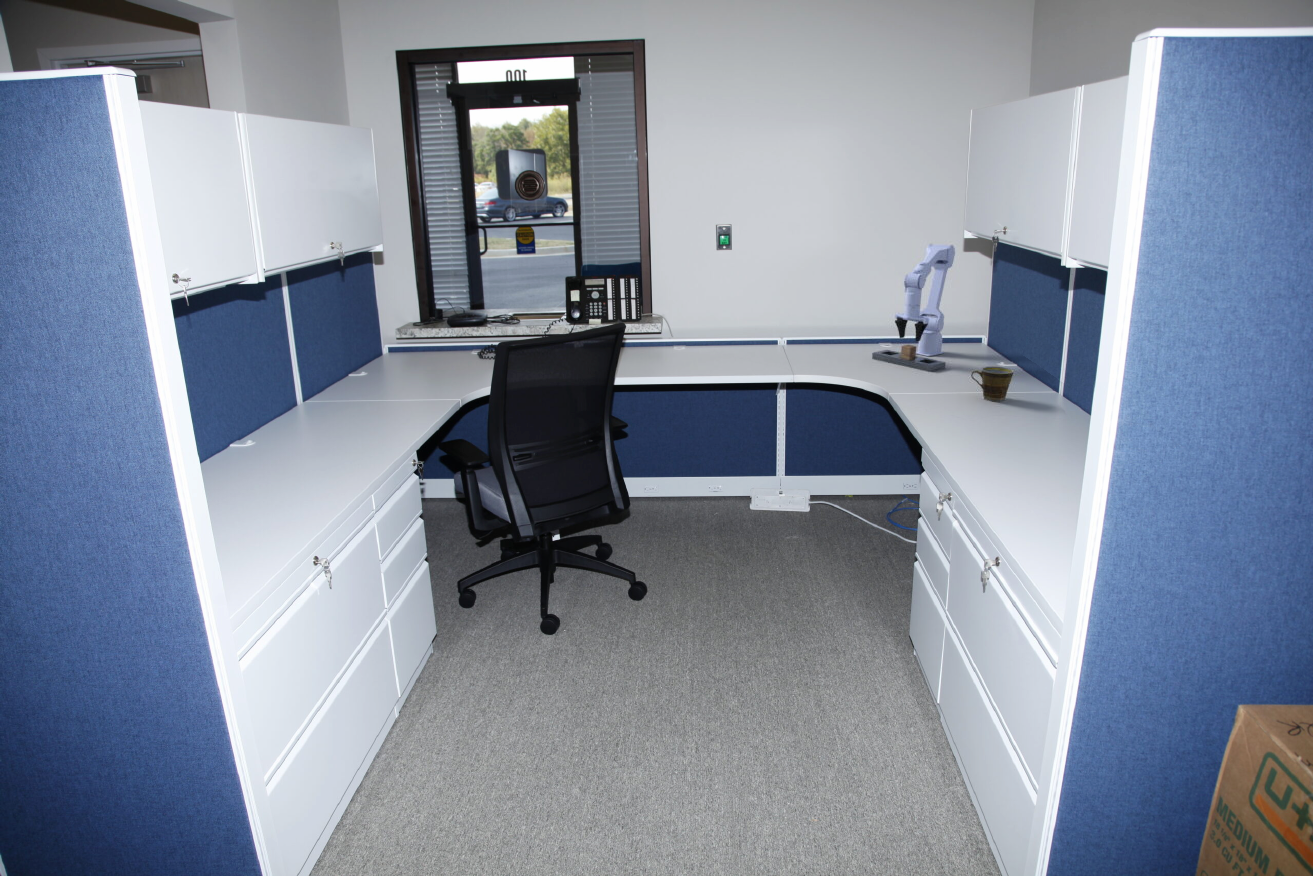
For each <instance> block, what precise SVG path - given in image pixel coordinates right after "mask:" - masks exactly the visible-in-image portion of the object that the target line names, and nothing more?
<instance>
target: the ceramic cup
mask: <svg viewBox="0 0 1313 876" xmlns="http://www.w3.org/2000/svg"><path fill="white" fill-rule="evenodd" d="M980 371H981V372H980ZM980 371H979V370H974V371H972V372H971V379H972V380H973V381H975V382H976V383H977V384H978V385H979V387H981V389H982V397H984V398H983V400H985V399H987V400H986V401H988V400H992V401H991V402H997V401H1000V402H1002V401H1001V400H1004V401H1005V400H1006V396H1007V393H1008V389H1009V387H1010V385H1011V381H1012V379H1013V376H1014V370H1013V369H1011V368H1007V367H1003V366H984V367H982V368H981V369H980ZM975 373H977V374H978V375H979V376H980V378H981V382H982V383H980V382H979V381H978V380H977V379H975V378H974V376H973V375H974V374H975Z"/></svg>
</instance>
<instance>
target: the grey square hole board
mask: <svg viewBox="0 0 1313 876" xmlns="http://www.w3.org/2000/svg"><path fill="white" fill-rule="evenodd" d="M871 359H872V360H877V361H880V362H884V363H890V364H893V365H898V366H903V367H907V368H911V369H917V370H920V371H923V372H928V373H929V372H930V373H931V372H935V371H940V370H945V369H946V363H947V362H946V361H942V360H937V359H933V358H929V357H924V356H918V355H916V358H914V359H905V358H901V351H895V350H890V349H883V350H879V351H874V352H872V358H871Z"/></svg>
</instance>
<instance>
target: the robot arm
mask: <svg viewBox="0 0 1313 876" xmlns="http://www.w3.org/2000/svg"><path fill="white" fill-rule="evenodd" d="M955 248H956V247H954V245H953V244H935V243H930V244H929V245H928V246H927V247H926V252H925V255H926V256H925V258H924V259H923V261H921V262H919V263H917V265H916V266H915V268H914V269H913V270H912V272H909V273H907V274H906V275H905V278H904V282H903V285H904V293H905V299H904V301H905V303H904V313H900V312H897V313H895V314H894V319H896V320H894V323H895V325H896V327H897V331H898V336H899V339H905V335H906V328H907V325H908V321H910V322H914V328H915V336H914V337H915V342H918V346H917V350H916V355H921V356H926V357H932V356H937V355H941V354H944V351H942V347H943V334H942V333H941V332H942V330H943V329H944V323H945V315H944V313H943V312H942V311H941V310H940V305H941V301H942V296H943V291H944V286H945V282H946V278H947V273H948V269H950V268H952V267H953V264H954V261H955V256H956V251H955V250H956V249H955ZM932 268H934V272H933V277H932V280H931V285H930V290H929V295H928V297H927V298H928V299H927V302H926V307H925V308H923V309H921V305H922V304H921V303H922V292H923V291H922V290H923V289H924V288H925V285H926V282H927V278H928V276H929V275H930V274H931V272H932Z"/></svg>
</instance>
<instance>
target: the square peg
mask: <svg viewBox="0 0 1313 876" xmlns="http://www.w3.org/2000/svg"><path fill="white" fill-rule="evenodd" d="M900 348H901V350H900V352H901V358H905V359H914V358H916V356H917V354H916V351H917V348H918V346H917V345H912V344H904V345H901V347H900Z"/></svg>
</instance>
